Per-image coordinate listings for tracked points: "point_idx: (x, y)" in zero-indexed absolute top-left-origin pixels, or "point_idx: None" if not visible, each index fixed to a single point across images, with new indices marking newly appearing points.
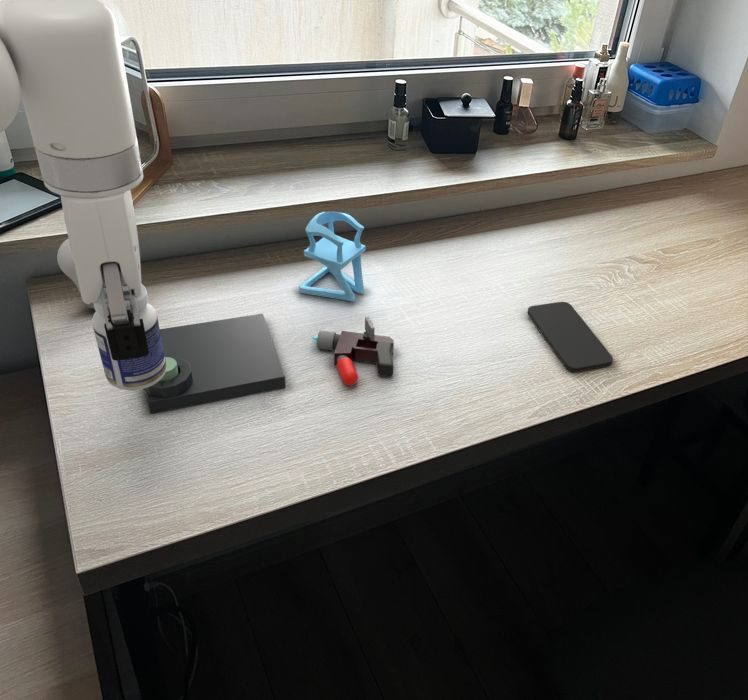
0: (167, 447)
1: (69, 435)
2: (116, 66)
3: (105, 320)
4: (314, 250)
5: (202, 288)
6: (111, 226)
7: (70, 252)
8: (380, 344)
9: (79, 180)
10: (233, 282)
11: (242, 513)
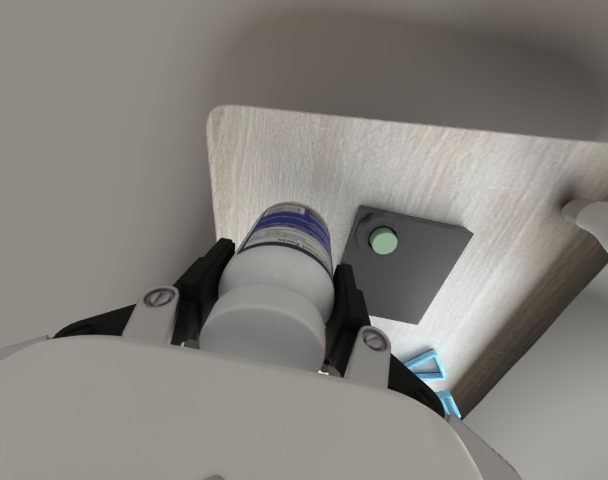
0: (310, 204)
1: (375, 128)
2: None
3: (136, 307)
4: (444, 400)
5: (503, 297)
6: None
7: None
8: (324, 365)
9: None
10: (489, 319)
11: (218, 228)
